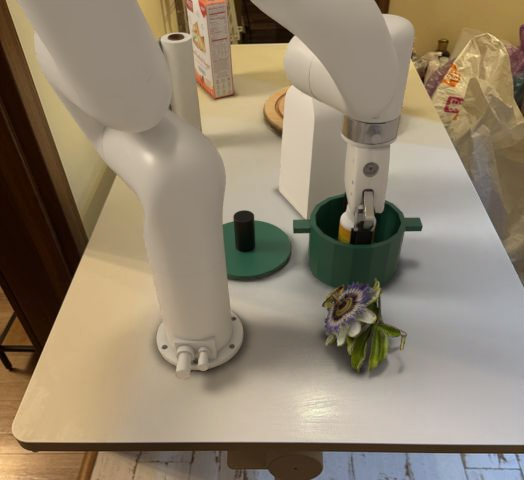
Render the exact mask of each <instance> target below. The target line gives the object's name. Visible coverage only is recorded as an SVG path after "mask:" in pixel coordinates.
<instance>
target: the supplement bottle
mask: <svg viewBox="0 0 524 480" xmlns="http://www.w3.org/2000/svg"><path fill="white" fill-rule="evenodd" d="M358 209H363V205H359V206H358ZM360 221H363V214H359V220H358V223H359V222H360ZM375 226H376V219H375V216H374V230H373V236H372V242H371V245H372V243H373V237H374V231H375ZM351 228H354V214H353V213H352V212H351V211H350V209H349V205H347V210H346V212H344V213H343V214H342V216H341V219H340V226H339V235H338V241H340V242H344V243H348V244H349V242H350V235H351Z"/></svg>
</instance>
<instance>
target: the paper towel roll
mask: <svg viewBox="0 0 524 480" xmlns="http://www.w3.org/2000/svg"><path fill="white" fill-rule="evenodd" d="M156 40H157V42H158V44H159V46H160V48H161V50H162V52H163V54H164V56H165V59H166V62H167V65H168V68H169V71H170V76H171V83H172V96H171V102H170V106H169V110H171V111H172V112H173V113H175V114H176V115H179V116H180V117H181V118H183V119H184V120H186V121H187V122H188V123H190V124H191V125H192V126H194V127H195V128H197V129H198V130H199V131H200V132H202V133H203V127H202V119H201V117H202V116H201V110H200V101H199V92H198V83H197V82H198V81H197V80H196V72H195V63H194V55H193V46H192V37H191V35H190V33H187V32H170V33H166V34H164V35H162V36H160V37H158V38H157V39H156Z"/></svg>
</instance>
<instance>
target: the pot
mask: <svg viewBox="0 0 524 480" xmlns="http://www.w3.org/2000/svg"><path fill="white" fill-rule="evenodd" d="M343 203H344V194H341V195H337V196H333V197H329V198H327V199H325V200H323V201H322V202H320V203H318V204H317V205H316V206H315V208H314V209H313V211H312V212H311V214H310V219H305V218H303V219H302V218H301V219H293V220H292V230H293V231H292V232H293V234H308V246H307V247H308V248H307V249H308V250H307V258H308V262H307V263H308V268H309V270H310V272H311V273H312V275H313V276H314V277H315V279H317V280H318V281H320V282H321V283H322V284H324V285H326V286H329V287H331V288H333V289H335V288H338V287H340V286H341V285H345V288H344V290H347V288H348V284H349V285H352V284H353V282H354V284H356V282H359V284H361V282H362V283H363V285H364V284H365V283H366V284H369V287H371V288H372V287H373V285H374V278H376V279H377V280H378V281H379V283H380V287H382V286H384V285H386V284H387V283H388V282H389V281H391V279H392V278H393V277H394V275H395V274H396V272H397V271H396V270H397V268H398V264H399V260H400V256H401V251H402V247H403V241H404V238H405V232H409V233H410V232H423V228H424V226H423V223H422V220H421V218H420V217H405V215H404V212H403V211H402V210H401V209H400V208H399V207H397V205H395V204H394V202H391V201H389V200H387V199H385V204H384V210H383V212H382V213H376V212H375V208H374V216H375V219H376V226H375V231H374V237H373V243H372V245H353V244H348V243H344V242H340V241H338V235H339V226H340V219H341V216H342V214H343Z"/></svg>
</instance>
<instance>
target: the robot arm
mask: <svg viewBox="0 0 524 480" xmlns="http://www.w3.org/2000/svg"><path fill="white" fill-rule="evenodd" d="M249 1H250V2H251V3H252V4H253V5H254V6H255V7H257V8H258V9H259V10H260V11H261V12H263V13H264V14H265V15H267V16H268V17H269V18H271V19H272V20H274V21H275V22H276V23H277V24H279V25H281V26H282V27H283V28H284V29H286V30H288V31H289V32H290V33H291V34H293V36H292V38H291V39H290V40H289V42H288V44H287V47H286V48H285V52H284V56H283V69H284V72H285V73H284V74H285V77H286V78H287V80H288V81H289V82H290V85H293V86H294V87H295V88H296V89H298V90H299V91H301V92H302V93H304V94H306V95H308V96H310V97H312V98H314V99H316V100H318V101H320V102H322V103H325V104H327V105H328V106H330V107H332V108H334V109H336V110H337V111H339V112H341V113H343V119H342V129H341V137H342V138H343V140H345V141H346V142H347V143H348V144H347V152H346V161H345V174H344V182H345V189H346V192H345V193H344V203H343V213H344V212H346V210H347V205H349V209H350V211H351V212H352V213H353V214H354V228H351V235H350V242H349V244H353V245H371V242H372V236H373V230H374V208H375V212H376V213H382V212H383V210H384V204H385V200H386V195H387V189H388V188H387V187H388V178H389V171H390V162H391V161H390V160H391V145H392V144H394V143H395V142H396V141H397V138H398V132H399V128H400V121H401V117H402V109H403V105H404V99H405V93H406V89H407V88H406V87H407V81H408V76H409V71H410V67H411V66H410V65H411V60H412V54H413V49H414V43H415V34H416V33H415V27H414V25H413V23H412V22H411V21H410V20H409V19H407V18H406V17H404V16H401V15H397V14H390V13H382V11H381V9H380V7H379V6H378V4H377V2H376V0H249ZM16 2H17V4H18V6H19V7H20V9H21V10H22V12H23V14H24V15H25V17H26V18H27V20H28V22H29V24H30V26H31V27H32V29H33V30H34V31H33V32H34V33H33V45H34V52H35V56H36V60H37V62H38V65H39V68H40V70H41V73H42V74H43V76H44V78H45V79H46V81H47V82H48V84H49V86H50V87H51V89H52V91H53V92H54V93H55V95H56V96H57V97H58V99H59V100H60V102H61V103H62V104H63V106H64V108H65V109H66V111H67V113H69V115H70V117H72V119H73V120H74V122H75V124H77V126H78V127H79V129H80V131H81V132H82V134H83V135H84V136H85V137H86V139H87V140H88V142H89V144H90V145H91V146H92V147H93V149H94V150H95V151H96V153H97V154H98V155H99V157H100V158H101V160H103V162H104V163H105V165H107V167H108V168H110V170H111V171H112V172H113V173H114V174H115V175H116V176H117V177H118V178H119V179H121V181H122V182H123V183H124V184H125V185H126V186H127V187H128V188H129V189H130V190H131V191H132V192H133V194H134V195H135V196H136V198H137V199H138V201H139V203H140V205H141V208H142V211H143V212H142V213H143V225H142V226H143V227H142V234H143V242H144V247H145V248H144V249H145V252H146V256H147V260H148V264H149V267H150V271H151V276H152V279H153V284H154V289H155V294H156V297H157V301H158V305H159V310H160V314H161V318H162V321H161V323H160V324H159V326H158V329H157V332H156V335H155V336H156V339H155V340H156V345H157V348H158V351H159V353H160V355H161V356H162V357H163V359H164V360H165V361H166V362H168V363H169V364H171V365H172V366H175V367H176V368H175V377H176V378H177V379H179V380H189V378H190V377H191V372H192V371H201V372H206V371H207V370H210V369H213V368H217V367H218V366H219V367H220V366H221V365H223V364H225V363H227V362H228V361H229V360H231V359H232V358H234V357H235V356H236V354H237V353H238V352H239V351H240V349H241V347H242V345H243V343H244V342H243V341H244V326H243V323H242V321H241V319H240V318H239V316H238V315H237V314H236V313H234V312H233V310H231V301H230V292H229V291H230V290H229V279H228V277H227V269H226V258H225V248H224V237H223V224H224V222H223V221H224V219H223V217H224V216H223V215H224V213H223V212H224V201H225V193H226V184H227V176H226V174H227V173H226V167H225V163H224V161H223V158H222V156H221V154H220V152H219V149H217V148H216V146H215V145H214V143H213V142H212V141H211V140H210V138H208V136H207V135H205V133H203V131H202V132H200V131H199V130H198V129H197V128H195V127H194V126H192V125H191V124H190V123H188V122H187V121H186V120H184V119H183V118H181V117H180V116H179V115H176V114H175V113H173V112H172V111H171V110H169V106H170V102H171V96H172V83H171V76H170V71H169V68H168V65H167V62H166V59H165V56H164V54H163V52H162V50H161V48H160V46H159V44H158V42H157V40H158V39H157V38H156V36H155V35H154V32H153V31H152V28H151V26H150V25H149V22H148V21H147V18H146V16H145V13H144V12H143V10H142V8H141V5H140V3H139V1H138V0H16ZM359 205H363V209H358V206H359ZM359 214H363V221H360V222H359V223H358V220H359Z"/></svg>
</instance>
